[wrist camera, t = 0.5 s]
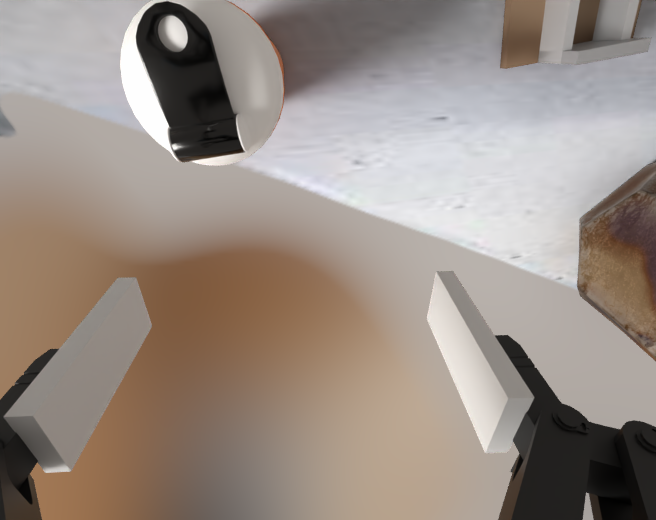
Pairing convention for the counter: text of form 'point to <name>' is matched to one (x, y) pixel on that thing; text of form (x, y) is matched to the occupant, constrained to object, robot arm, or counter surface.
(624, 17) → the socket
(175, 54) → the shaker bottle
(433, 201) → the counter surface
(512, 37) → the board
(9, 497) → the robot arm
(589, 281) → the planter
